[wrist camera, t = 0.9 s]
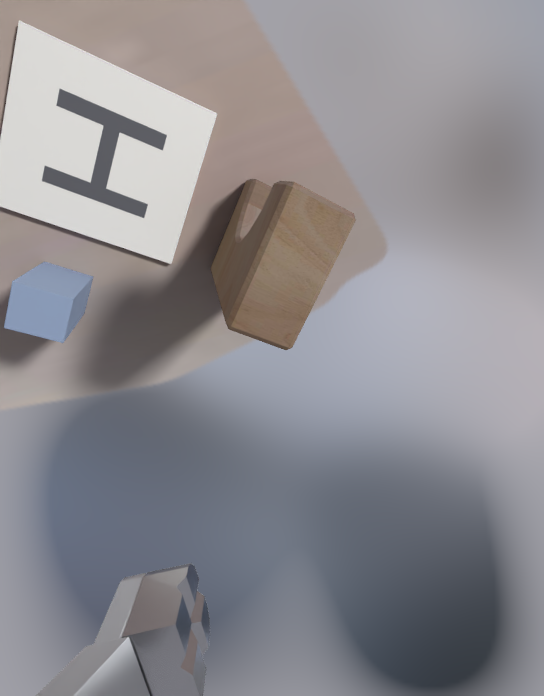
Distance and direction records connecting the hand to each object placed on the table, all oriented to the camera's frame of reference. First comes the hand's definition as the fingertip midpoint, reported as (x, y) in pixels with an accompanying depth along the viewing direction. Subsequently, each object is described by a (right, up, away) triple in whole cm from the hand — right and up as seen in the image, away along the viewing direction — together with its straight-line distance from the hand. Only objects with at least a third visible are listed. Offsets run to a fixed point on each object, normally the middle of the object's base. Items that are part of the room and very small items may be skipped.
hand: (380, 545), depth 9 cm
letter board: (-19, +23, +32) cm, 44 cm away
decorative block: (-5, +17, +38) cm, 42 cm away
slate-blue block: (-25, +11, +36) cm, 45 cm away
